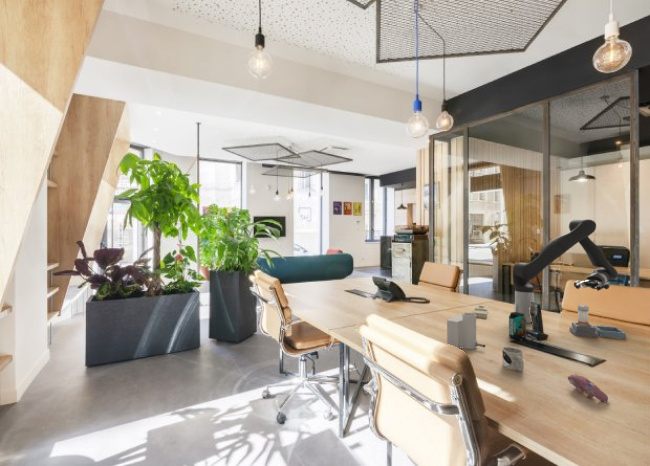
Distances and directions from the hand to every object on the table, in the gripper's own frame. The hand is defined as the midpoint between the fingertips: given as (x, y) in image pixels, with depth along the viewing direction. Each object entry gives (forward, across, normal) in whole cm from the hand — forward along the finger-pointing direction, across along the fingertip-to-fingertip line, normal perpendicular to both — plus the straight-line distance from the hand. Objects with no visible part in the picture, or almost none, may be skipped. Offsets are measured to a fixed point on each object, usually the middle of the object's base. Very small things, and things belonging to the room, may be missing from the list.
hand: (587, 287), depth 166 cm
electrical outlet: (+17, -50, +18) cm, 56 cm away
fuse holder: (+13, 0, +20) cm, 24 cm away
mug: (+82, -2, +11) cm, 82 cm away
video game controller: (+83, +20, +12) cm, 86 cm away
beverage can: (+45, -17, +15) cm, 51 cm away
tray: (+5, +8, +22) cm, 24 cm away
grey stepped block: (+74, -25, +11) cm, 79 cm away
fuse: (+13, 0, +18) cm, 22 cm away
